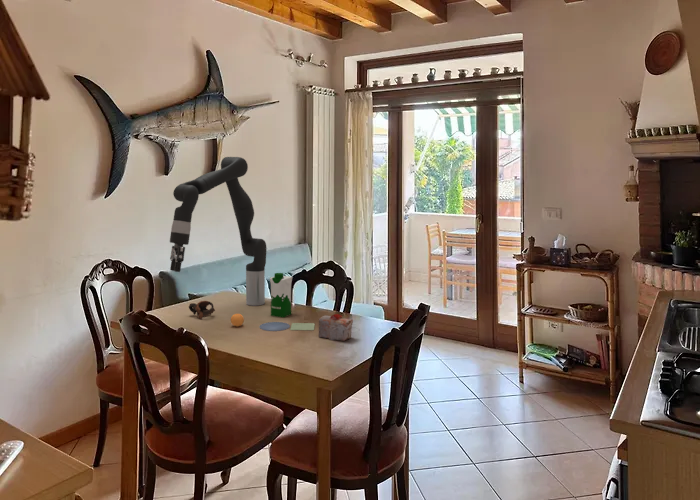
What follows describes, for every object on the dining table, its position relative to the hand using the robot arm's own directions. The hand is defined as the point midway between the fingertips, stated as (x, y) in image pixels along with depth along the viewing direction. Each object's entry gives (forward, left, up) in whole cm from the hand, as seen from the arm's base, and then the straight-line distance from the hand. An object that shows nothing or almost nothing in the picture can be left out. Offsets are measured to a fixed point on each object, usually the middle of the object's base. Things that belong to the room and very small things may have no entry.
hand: (175, 271), depth 213 cm
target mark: (-4, +41, -24) cm, 48 cm away
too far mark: (-4, +53, -24) cm, 58 cm away
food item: (+11, +67, -25) cm, 72 cm away
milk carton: (-23, +42, -25) cm, 53 cm away
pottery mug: (-19, +6, -25) cm, 32 cm away
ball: (-4, +25, -22) cm, 33 cm away
